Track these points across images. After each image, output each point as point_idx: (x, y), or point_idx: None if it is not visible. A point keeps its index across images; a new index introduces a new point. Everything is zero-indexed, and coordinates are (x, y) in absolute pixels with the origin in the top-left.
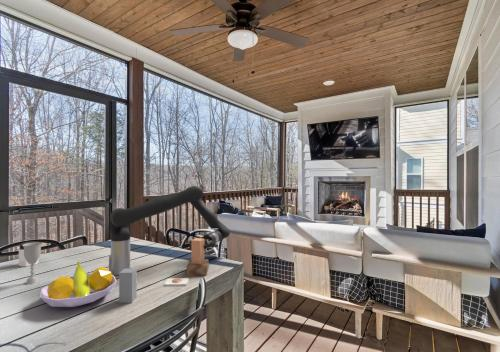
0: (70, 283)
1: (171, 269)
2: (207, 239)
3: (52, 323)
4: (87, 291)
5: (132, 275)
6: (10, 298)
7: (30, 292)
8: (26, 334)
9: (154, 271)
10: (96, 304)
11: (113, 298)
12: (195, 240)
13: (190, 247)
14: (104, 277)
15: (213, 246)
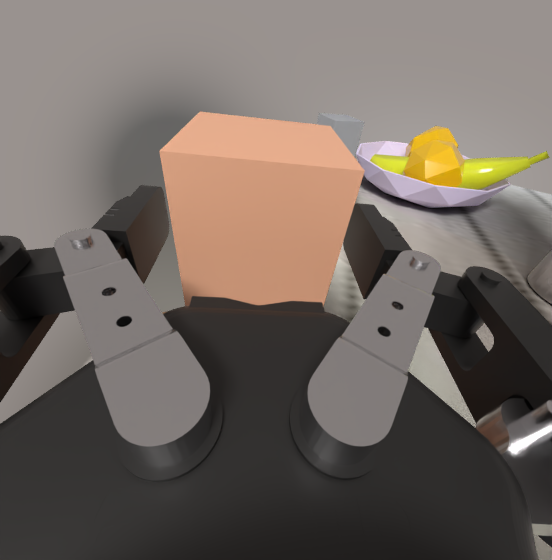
0: (420, 140)
1: (443, 389)
2: (123, 376)
3: (357, 160)
4: (391, 161)
5: (318, 123)
6: (513, 187)
7: (527, 198)
8: (356, 152)
9: (482, 337)
10: (362, 183)
11: (359, 195)
12: (272, 120)
13: (345, 242)
14: (410, 158)
15: (2, 306)
